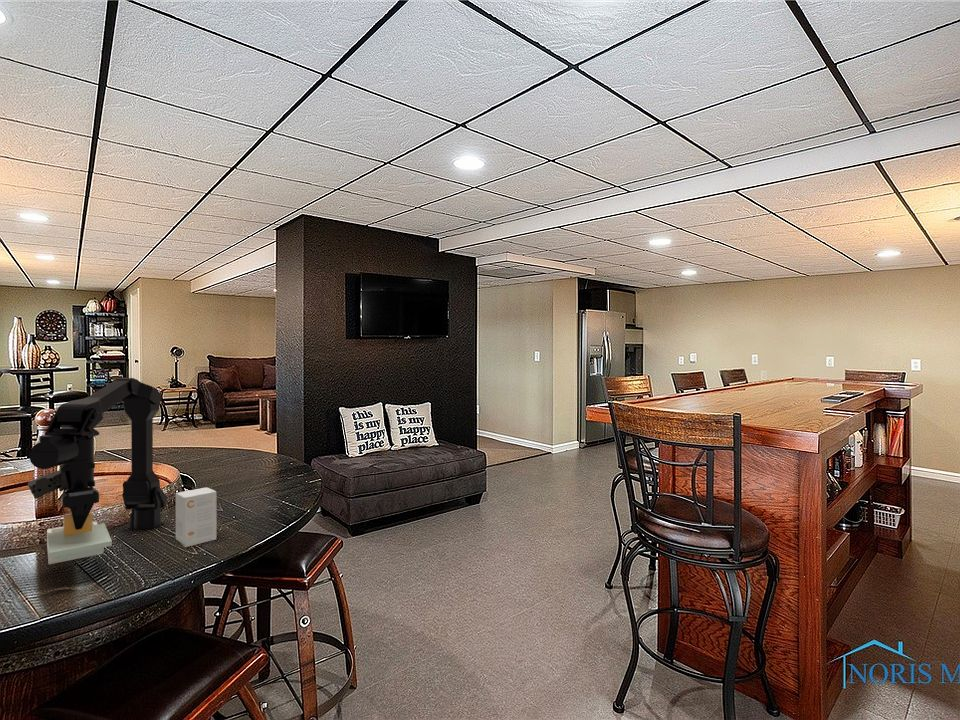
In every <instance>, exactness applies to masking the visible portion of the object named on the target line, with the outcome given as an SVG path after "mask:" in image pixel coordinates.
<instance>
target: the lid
mask: <svg viewBox="0 0 960 720" xmlns="http://www.w3.org/2000/svg"><path fill="white" fill-rule="evenodd" d="M62 518H63V519H62V520H63V521H62V522H63V524H62V525H63V526H62V527H63V530H62V531H56V532H50V533H48V547H49V558H51V557H56V556H57V561H62V560H67V559H72V558H77V557H82V556H87V555H92V554H97V553H102V554H103V553H104V552H105V548H106V547H112V544H113V541H112V538H111V536H110V533H109V530H108V529H107V526H106V523H99V524H97V525H92V522H93V513H92V510H91V511H90V513H89V515H88V517H87V519H86V521H85V523H84V525H83V527H82V529H78V530H76V529H75V525H74V521H73V517H72V513H68V514H63V517H62Z"/></svg>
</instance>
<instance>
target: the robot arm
mask: <svg viewBox="0 0 960 720" xmlns="http://www.w3.org/2000/svg"><path fill="white" fill-rule="evenodd" d="M161 401H162V394H161V392H160V391H158V389H157V388H156V387H154V386H152V385H150V384H146V383H143V382H141V381H140V380H138V379H137V378H134V377H118V378H114V379H113V380H112V382H111V383H109V384H107V385H105V386H104V387H102V388H100V389H99V390H97V391H95V392H94V393H92V394H91V395H89V396H87V397H84V398H80V399H74V400H70V401H67V402H64V403H62V404H60V405H59V406H58V408H57V410H56V411H55V413H54V415H53V417H52V418H51V421H50V423H49V424H48V426H47V428H46V430H45V432H44V435H40V437H39V442H38V443H36V444H34V445H33V446H32V448H31V450H30V452H29V455H28V456H29V461H30V463H31V464H32V466H34V467H36V468H37V469H39V470H48V469H53V468H56V467H57V466H58V467H59V469H58V470H56V471H54V472H51V473H48V474H45V475H42V476H41V477H38V478H35V479H32V480H31V481H28V483H27V486H28V488H29V490H30V493H31V494H32V497H33V498H34V499H35V500H36V499H39V498H42V497H43V496H45V495H47V494H50V493H51V492H54V491H57V490H59V492H63V491H64V492H63V493H62V494H60V499H61V505H62V506H61V507H62V508H67V509H69V510H70V512H71V513H70V514H72V517H73V521H74V525H75V529H76V530H78V529H82V527H83V525H84V523H85V521H86V519H87V517H88V515H89V513H90V511H91V512H92V509H93V507H94V505H95V504H97V503H100V493H99V491H98V489H97V488H95V486H96V482H95V481H96V480H95V473H94V472H95V468H96V463H95V437H97V436H99V435H100V431H98V430H97V429H95V427H97V426H98V424H100V422H101V421H102V420H103V419H104V413H105V412H106V411H108V410H109V409H111V408H112V407H114V406H115V405H117V404H118V403H119V402H121V403H122V404H123V410H124V411H123V412H124V413H125V415H126V416H127V417H128V418H129V420H130V421H131V422H130V425H131V426H130V427H131V433H130V434H131V436H130V437H131V440H130V441H131V442H130V443H131V444H130V445H131V449H130V450H131V451H130V452H131V459H130V460H131V463H130V464H131V474H130V476H129V477H128V478H127V480H126V481H123V483H122V495H121V496H122V499H123V504H124V508H125V510H131V513H130V514H129V528H130V529H133V530H135V531H146V530H147V531H149V530H154V529H156V528H158V527H160V526H161V525H162V517H161V515H162V512H161V511H162V509H164V508H165V507H166V506H167V502H168V496H167V494H165V492H164V491H163V489H162V488H161V483H160V478H159V477H158V476H157V475H156V473H155V472H154V469H153V468H154V466H153V465H154V460H153V459H154V456H153V455H154V452H153V449H154V447H153V446H154V443H153V440H154V439H153V437H154V435H153V431H154V430H153V429H154V428H153V426H154V425H153V423H154V421H153V420H154V418H155V416H156V415H157V414H158V412H159V410H160V408H161V407H160V406H161Z"/></svg>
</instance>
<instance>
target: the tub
mask: <svg viewBox="0 0 960 720" xmlns="http://www.w3.org/2000/svg"><path fill="white" fill-rule="evenodd" d="M97 524H98V521H97V520H96V521H92V525H97ZM62 530H63V526H60V527H53V528H48V529H46V549H47V560H48V561H47V562H48V565H54V564H57V563H59V564H60V563H63V562H68V561H73V560H77V559H84V558H88V557H93V556H99V555H102V554H103V552H102V553H97V554H92V555H87V556H82V557H77V558H72V559H67V560H62V561H57V556H56V557H51V558H49V547H48V533H50V532H56V531H62Z"/></svg>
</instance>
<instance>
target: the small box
mask: <svg viewBox="0 0 960 720" xmlns="http://www.w3.org/2000/svg"><path fill="white" fill-rule="evenodd" d="M217 514H218V513H217V491H216V490H215V489H212V488H210V487H201V488H197V489H190V490H184V491H179V492H176V493H175V540H176V541H178V542H179V543H180V544H181V546H182V547H183V548H188V547H193V546H195V545H199V544H205V543H207V542H208V543H209V542H212V541H215V540H217Z"/></svg>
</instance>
